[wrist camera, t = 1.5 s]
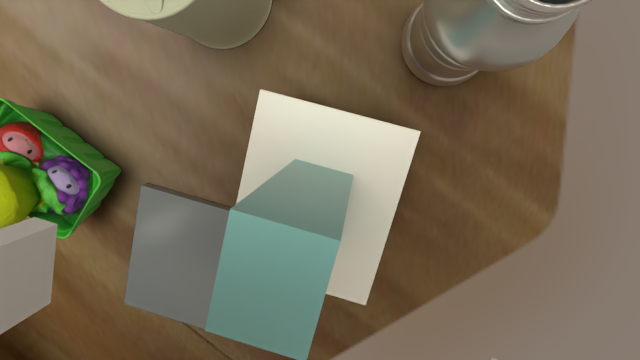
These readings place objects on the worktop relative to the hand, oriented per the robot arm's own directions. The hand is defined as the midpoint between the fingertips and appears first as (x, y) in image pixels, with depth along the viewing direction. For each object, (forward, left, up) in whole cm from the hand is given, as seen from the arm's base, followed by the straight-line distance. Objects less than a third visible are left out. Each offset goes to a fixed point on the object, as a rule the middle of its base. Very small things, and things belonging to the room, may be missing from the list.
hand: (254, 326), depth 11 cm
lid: (0, 0, -17) cm, 17 cm away
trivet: (-12, +12, -24) cm, 29 cm away
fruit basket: (-6, +25, -24) cm, 35 cm away
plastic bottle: (+13, -6, -24) cm, 28 cm away
